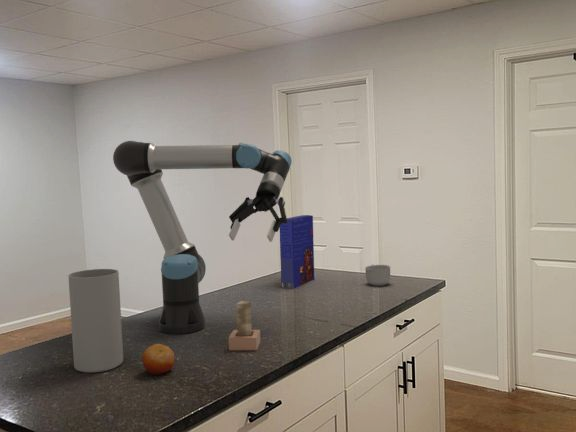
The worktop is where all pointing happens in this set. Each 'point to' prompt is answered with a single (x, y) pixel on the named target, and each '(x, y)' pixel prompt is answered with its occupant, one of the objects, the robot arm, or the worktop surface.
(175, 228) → the robot arm
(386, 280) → the teacup
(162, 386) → the worktop surface
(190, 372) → the worktop surface
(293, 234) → the cereal box
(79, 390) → the worktop surface
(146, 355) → the fruit
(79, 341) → the cylinder vase
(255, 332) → the orange-brown square frame
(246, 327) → the beige tall square post
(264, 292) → the worktop surface
